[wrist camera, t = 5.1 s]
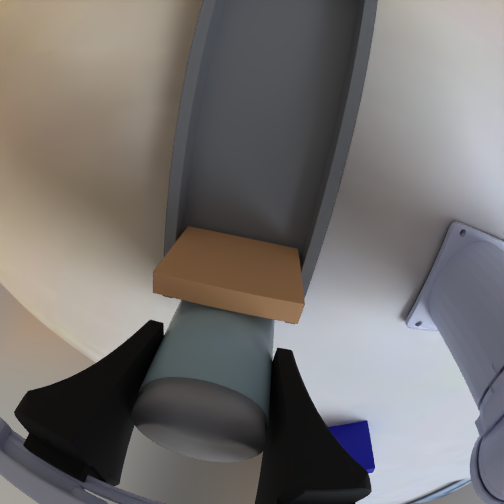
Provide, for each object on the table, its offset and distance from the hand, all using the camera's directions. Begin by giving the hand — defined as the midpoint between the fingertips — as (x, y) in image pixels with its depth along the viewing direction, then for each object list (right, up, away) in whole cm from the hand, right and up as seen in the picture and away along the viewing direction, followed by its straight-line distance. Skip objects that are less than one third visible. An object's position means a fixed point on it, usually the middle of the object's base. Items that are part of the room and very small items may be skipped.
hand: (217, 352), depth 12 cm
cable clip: (+12, -18, +15) cm, 26 cm away
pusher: (+1, +5, +3) cm, 6 cm away
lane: (+2, +11, +1) cm, 11 cm away
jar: (0, +1, +3) cm, 3 cm away
